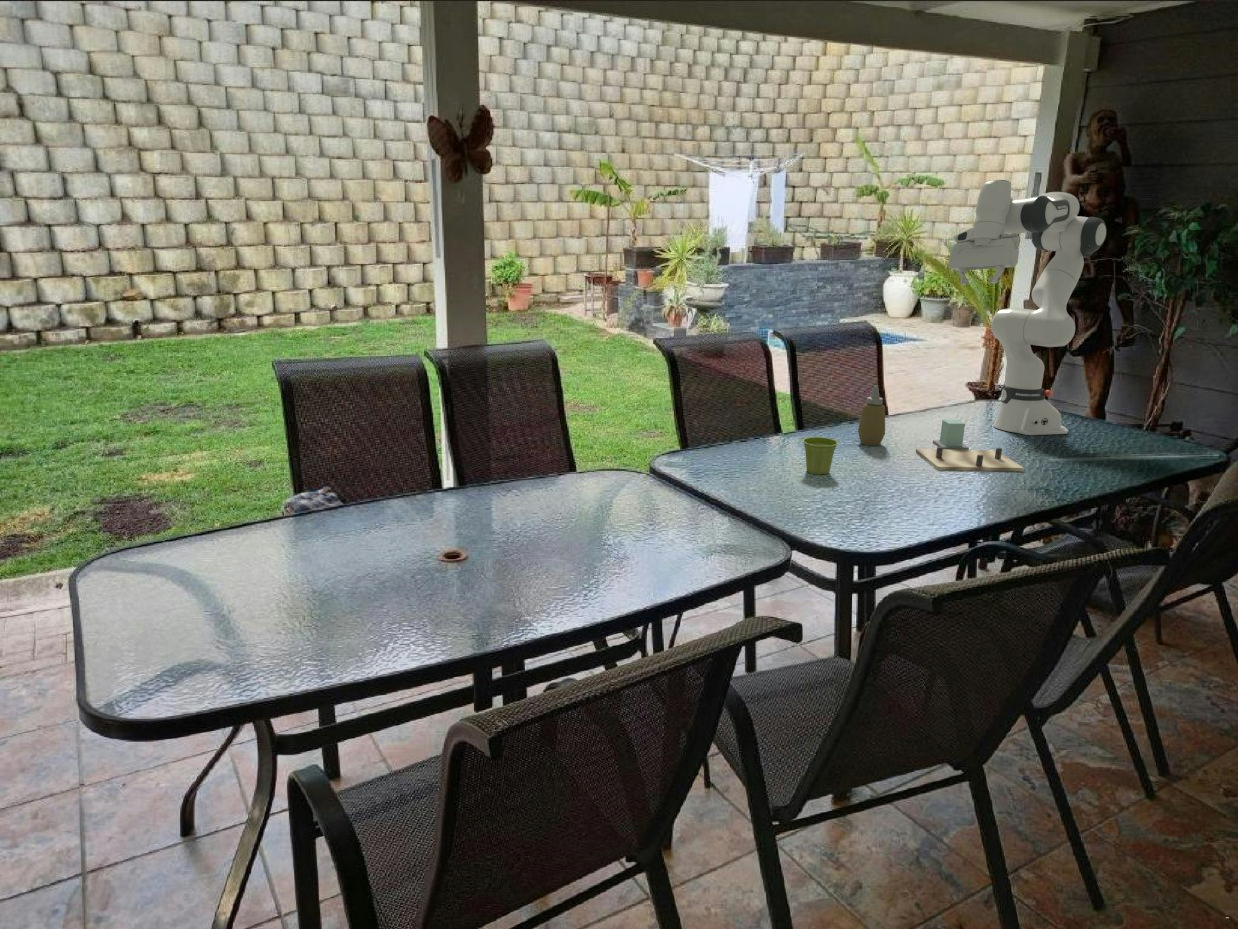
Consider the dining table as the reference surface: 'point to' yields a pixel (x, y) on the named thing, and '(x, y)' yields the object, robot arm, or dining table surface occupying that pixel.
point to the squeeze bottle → (872, 420)
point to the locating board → (968, 460)
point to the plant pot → (819, 454)
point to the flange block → (951, 435)
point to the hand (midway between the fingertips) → (978, 283)
